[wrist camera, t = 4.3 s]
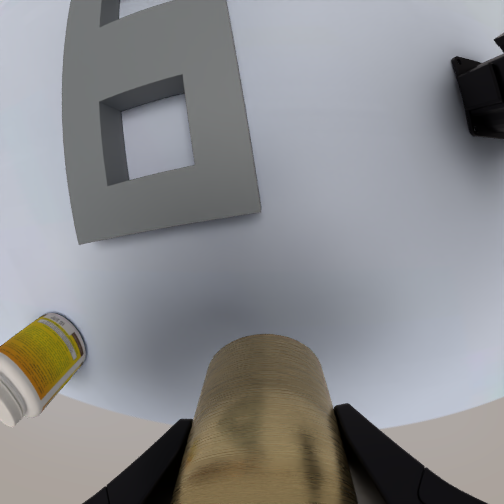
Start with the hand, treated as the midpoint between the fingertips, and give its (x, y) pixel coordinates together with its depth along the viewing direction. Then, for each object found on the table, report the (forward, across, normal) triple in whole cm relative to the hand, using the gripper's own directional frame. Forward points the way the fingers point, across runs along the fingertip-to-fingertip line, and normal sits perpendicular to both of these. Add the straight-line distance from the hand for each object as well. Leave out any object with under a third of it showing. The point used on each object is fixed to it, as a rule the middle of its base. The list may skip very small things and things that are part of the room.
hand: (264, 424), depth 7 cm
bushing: (+2, 0, 0) cm, 2 cm away
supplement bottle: (+12, +18, +3) cm, 22 cm away
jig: (+12, +5, -16) cm, 20 cm away
